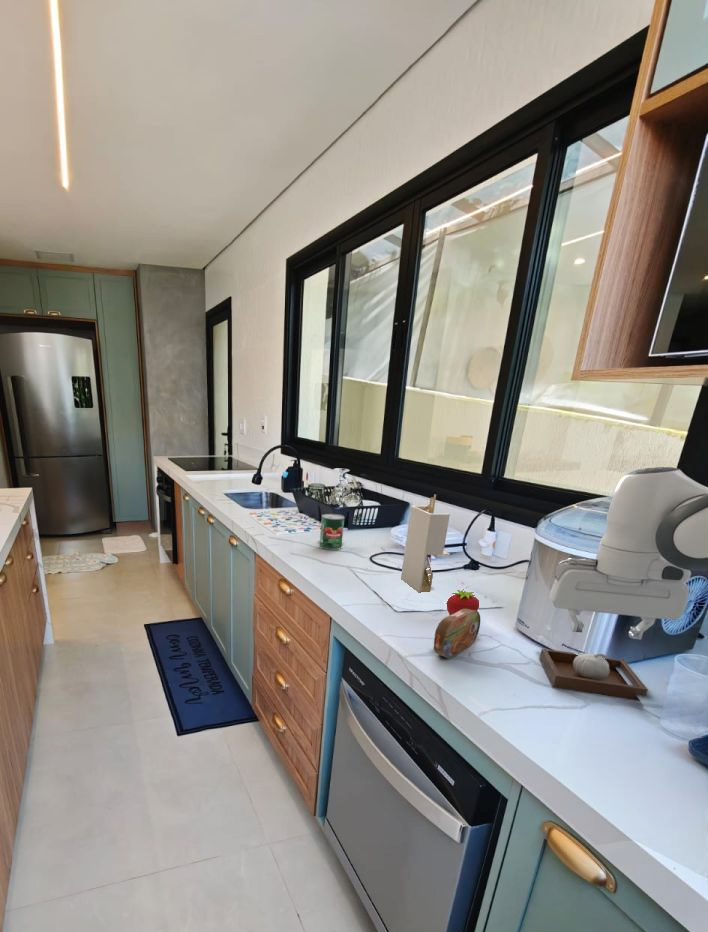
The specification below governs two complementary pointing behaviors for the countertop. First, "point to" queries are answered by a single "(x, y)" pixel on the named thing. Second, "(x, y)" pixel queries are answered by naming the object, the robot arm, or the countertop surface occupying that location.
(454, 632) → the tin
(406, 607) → the countertop surface
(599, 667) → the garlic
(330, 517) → the canned tomato
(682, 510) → the robot arm
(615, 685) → the tray
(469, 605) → the strawberry
